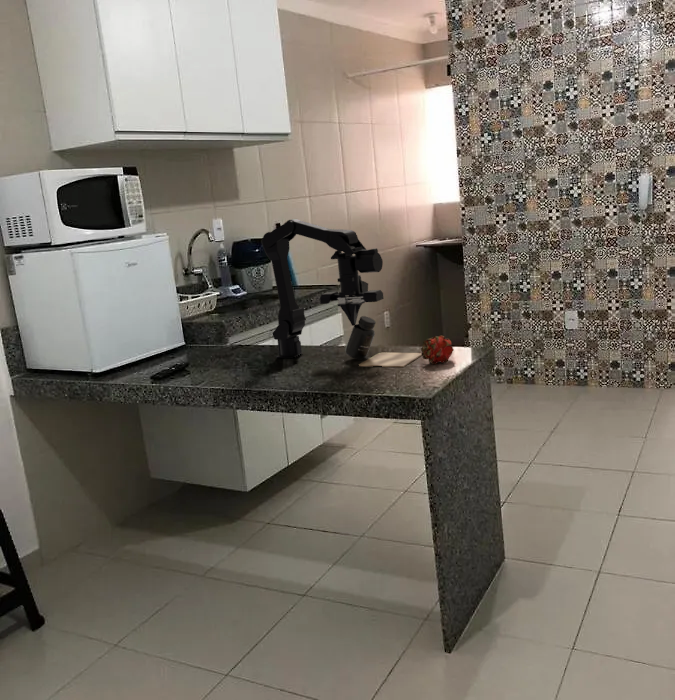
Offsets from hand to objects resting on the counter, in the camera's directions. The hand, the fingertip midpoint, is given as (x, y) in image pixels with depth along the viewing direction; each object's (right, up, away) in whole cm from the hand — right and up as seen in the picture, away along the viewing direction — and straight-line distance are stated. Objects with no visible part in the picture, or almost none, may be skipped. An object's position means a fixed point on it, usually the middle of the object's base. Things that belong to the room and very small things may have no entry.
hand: (353, 325), depth 223 cm
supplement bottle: (0, -9, +2) cm, 9 cm away
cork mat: (+11, -10, -3) cm, 15 cm away
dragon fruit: (+24, -11, -11) cm, 28 cm away
